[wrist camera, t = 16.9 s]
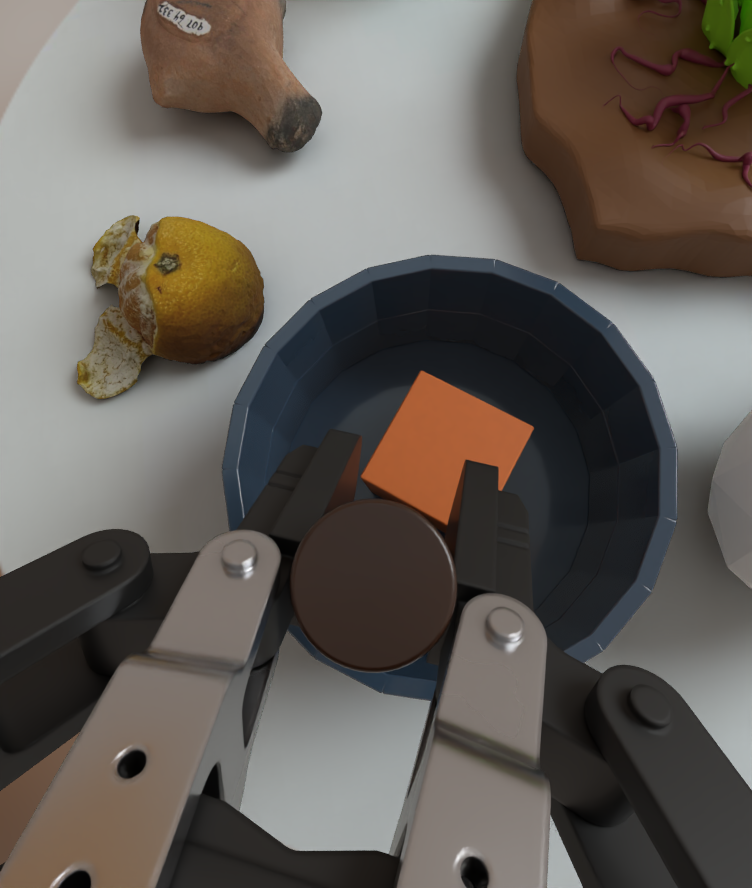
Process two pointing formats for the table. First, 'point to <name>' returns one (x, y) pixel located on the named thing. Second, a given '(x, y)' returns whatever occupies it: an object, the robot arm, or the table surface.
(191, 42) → the oil lamp
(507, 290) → the bowl
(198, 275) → the fruit
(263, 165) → the table surface
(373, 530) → the brown cylindrical peg
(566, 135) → the plant
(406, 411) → the block
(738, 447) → the perfume bottle
